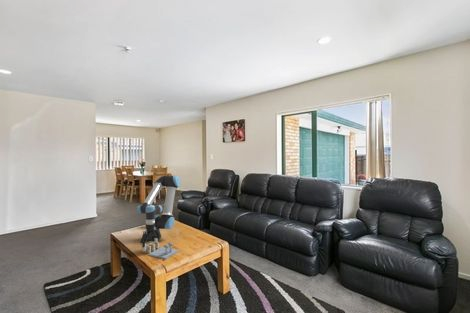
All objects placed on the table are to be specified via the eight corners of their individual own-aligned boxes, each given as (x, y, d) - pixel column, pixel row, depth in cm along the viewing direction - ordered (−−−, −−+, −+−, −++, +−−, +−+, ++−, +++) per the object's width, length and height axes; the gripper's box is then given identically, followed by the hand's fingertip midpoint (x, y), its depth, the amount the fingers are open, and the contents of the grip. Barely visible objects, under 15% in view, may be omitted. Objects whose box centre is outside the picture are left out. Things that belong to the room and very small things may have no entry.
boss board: (148, 255, 190) (148, 245, 190) (162, 248, 205) (162, 238, 205) (165, 259, 183) (165, 248, 183) (178, 251, 197) (178, 241, 197)
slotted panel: (142, 251, 197) (142, 245, 197) (151, 247, 207) (151, 240, 206) (150, 253, 193) (150, 246, 193) (158, 249, 203) (158, 242, 203)
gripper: (142, 228, 187) (142, 254, 187) (163, 220, 209) (163, 243, 209) (135, 227, 190) (135, 252, 190) (157, 219, 213) (157, 242, 212)
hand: (150, 248), depth 199 cm, fingers open, 13 cm apart
